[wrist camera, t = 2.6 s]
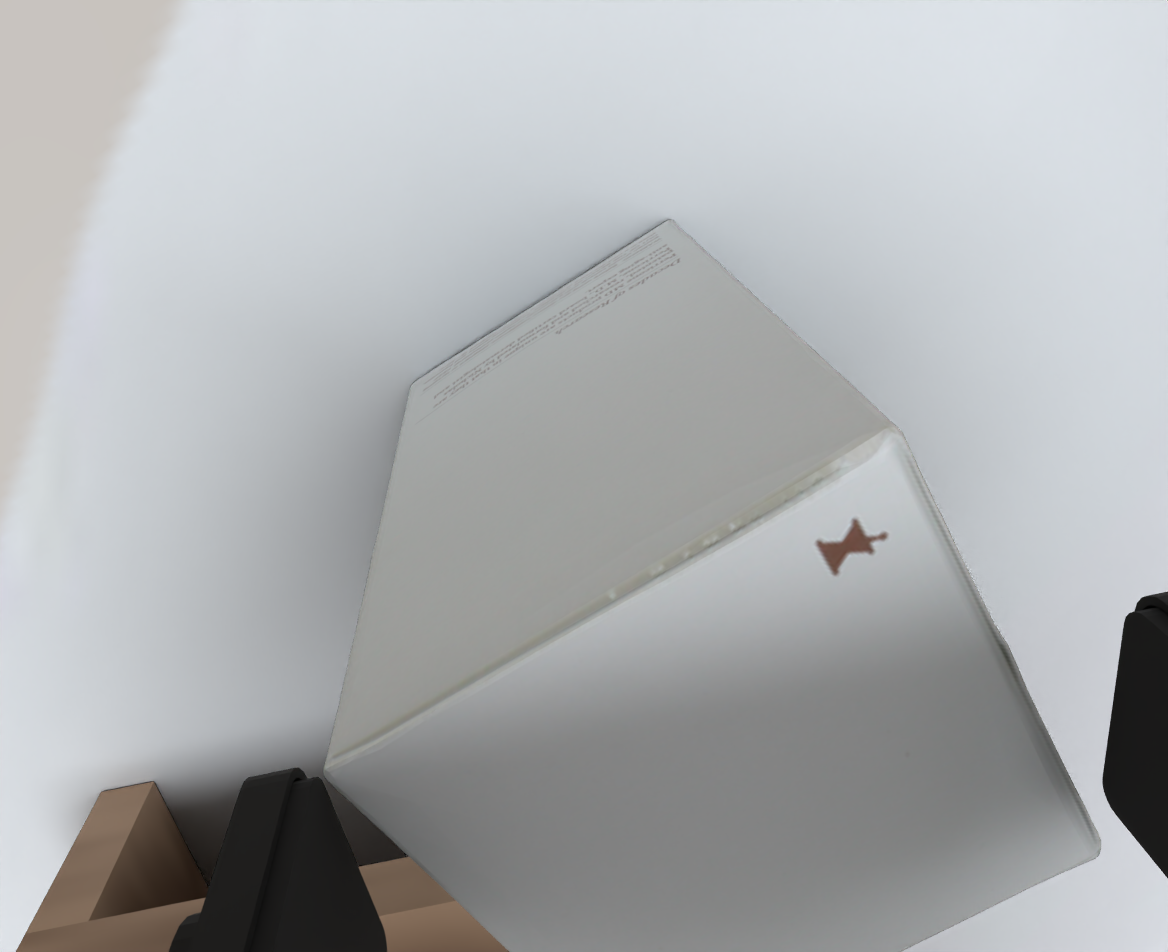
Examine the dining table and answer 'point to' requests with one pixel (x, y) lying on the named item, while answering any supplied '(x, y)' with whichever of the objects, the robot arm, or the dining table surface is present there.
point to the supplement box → (685, 644)
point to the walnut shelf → (204, 889)
